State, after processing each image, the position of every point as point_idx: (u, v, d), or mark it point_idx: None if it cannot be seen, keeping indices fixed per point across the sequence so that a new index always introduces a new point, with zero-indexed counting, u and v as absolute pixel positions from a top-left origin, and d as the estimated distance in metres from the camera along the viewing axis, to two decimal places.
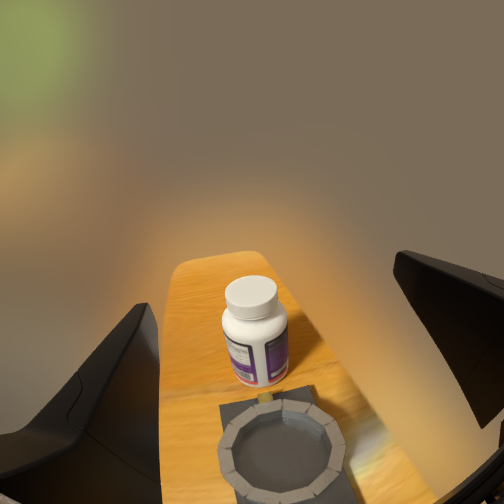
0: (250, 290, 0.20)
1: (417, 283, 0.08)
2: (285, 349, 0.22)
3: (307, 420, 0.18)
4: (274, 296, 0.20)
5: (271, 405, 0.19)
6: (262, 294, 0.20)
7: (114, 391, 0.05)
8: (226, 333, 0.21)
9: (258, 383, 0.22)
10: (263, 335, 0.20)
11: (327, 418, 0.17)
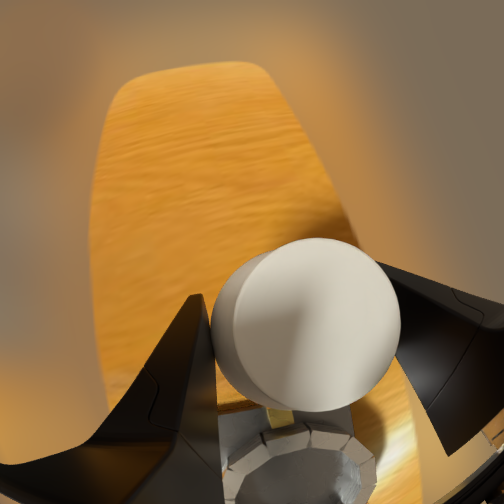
0: (324, 330, 0.05)
1: None
2: None
3: None
4: None
5: (293, 441, 0.11)
6: (363, 354, 0.05)
7: (192, 385, 0.05)
8: (225, 376, 0.08)
9: None
10: None
11: (366, 455, 0.11)
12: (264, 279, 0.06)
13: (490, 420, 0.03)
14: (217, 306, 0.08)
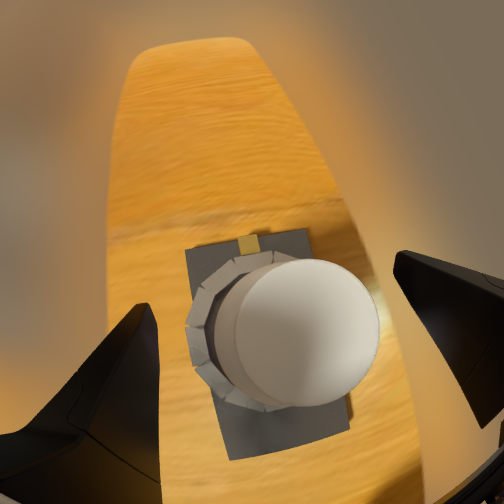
0: (311, 338, 0.07)
1: (417, 283, 0.08)
2: None
3: None
4: (371, 364, 0.06)
5: (258, 260, 0.16)
6: (345, 358, 0.06)
7: (114, 391, 0.05)
8: (227, 376, 0.09)
9: None
10: None
11: None
12: (261, 295, 0.07)
13: None
14: (220, 314, 0.09)
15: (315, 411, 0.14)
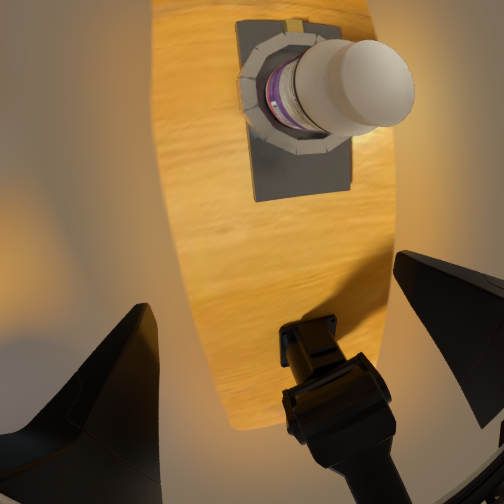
0: (381, 84, 0.08)
1: (417, 283, 0.08)
2: None
3: None
4: None
5: (304, 38, 0.14)
6: (396, 103, 0.09)
7: (114, 391, 0.05)
8: (303, 104, 0.11)
9: None
10: (358, 134, 0.12)
11: None
12: (357, 51, 0.08)
13: None
14: (307, 60, 0.10)
15: (327, 166, 0.20)
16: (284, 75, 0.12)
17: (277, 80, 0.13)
